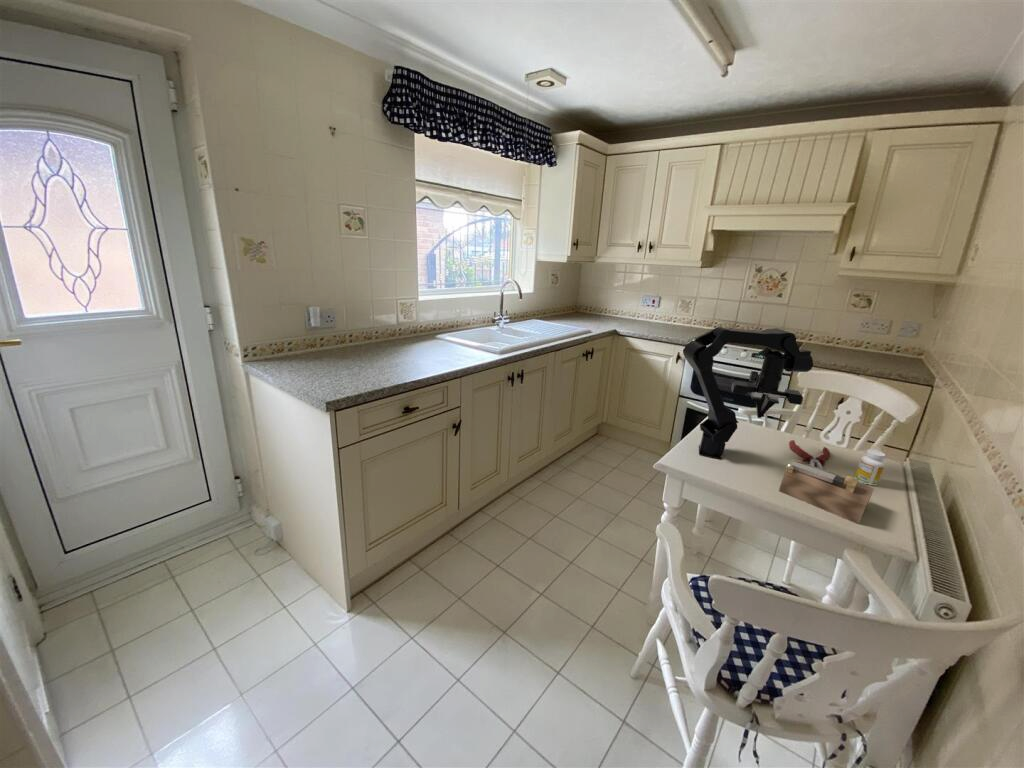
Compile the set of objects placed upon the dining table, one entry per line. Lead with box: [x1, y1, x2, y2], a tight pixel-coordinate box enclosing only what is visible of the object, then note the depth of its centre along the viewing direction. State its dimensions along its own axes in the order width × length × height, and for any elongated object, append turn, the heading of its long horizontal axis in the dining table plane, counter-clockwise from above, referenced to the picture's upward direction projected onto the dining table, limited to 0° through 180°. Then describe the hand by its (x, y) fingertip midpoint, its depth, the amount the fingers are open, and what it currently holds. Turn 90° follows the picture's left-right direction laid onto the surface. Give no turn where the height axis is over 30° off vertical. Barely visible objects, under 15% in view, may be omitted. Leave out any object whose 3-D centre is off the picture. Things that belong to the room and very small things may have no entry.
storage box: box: [778, 458, 875, 525], centre depth 113 cm, size 18×12×8 cm, turn 43°
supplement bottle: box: [854, 448, 886, 486], centre depth 123 cm, size 5×5×10 cm
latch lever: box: [786, 460, 846, 486], centre depth 115 cm, size 13×4×1 cm, turn 43°
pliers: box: [788, 439, 831, 470], centre depth 134 cm, size 12×20×3 cm, turn 154°
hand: (758, 417), depth 132 cm, fingers closed
